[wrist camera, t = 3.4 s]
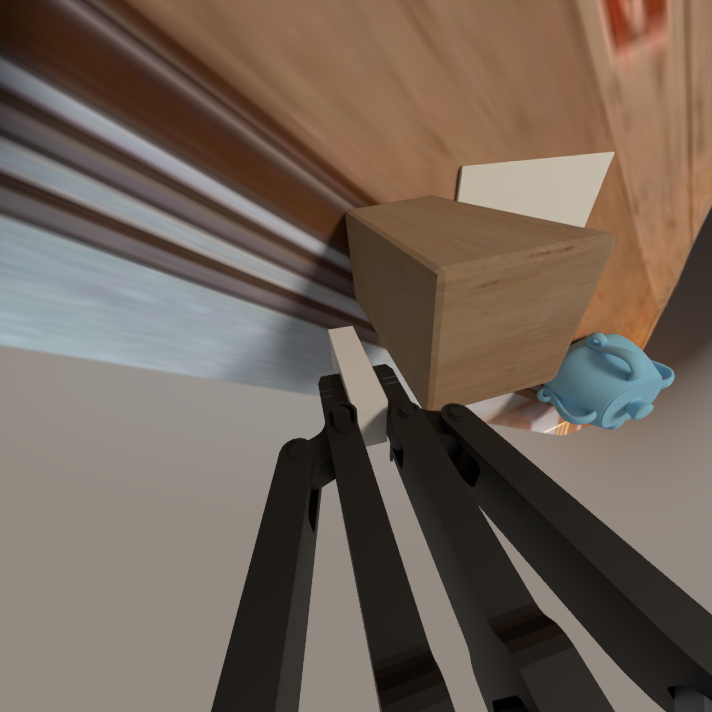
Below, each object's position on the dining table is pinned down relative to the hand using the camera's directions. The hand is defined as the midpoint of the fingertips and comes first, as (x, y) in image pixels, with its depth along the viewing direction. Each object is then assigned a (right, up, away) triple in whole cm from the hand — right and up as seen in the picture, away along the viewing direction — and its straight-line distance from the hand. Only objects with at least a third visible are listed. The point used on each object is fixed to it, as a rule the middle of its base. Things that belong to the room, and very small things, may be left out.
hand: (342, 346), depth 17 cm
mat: (+21, +15, +17) cm, 31 cm away
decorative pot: (+43, -2, +36) cm, 56 cm away
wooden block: (+5, +12, +15) cm, 19 cm away
